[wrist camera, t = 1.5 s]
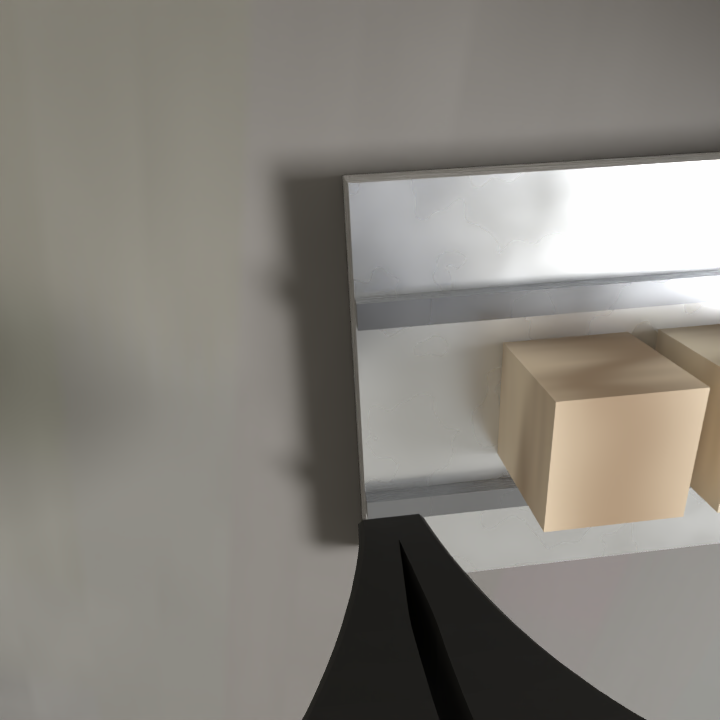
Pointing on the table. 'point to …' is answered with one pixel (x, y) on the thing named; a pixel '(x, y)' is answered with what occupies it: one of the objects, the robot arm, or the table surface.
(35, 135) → the table surface
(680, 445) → the tan cube
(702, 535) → the slotted bed
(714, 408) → the wooden cube
